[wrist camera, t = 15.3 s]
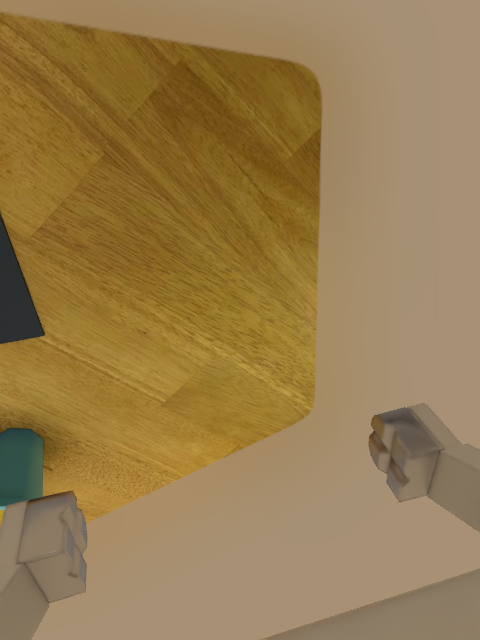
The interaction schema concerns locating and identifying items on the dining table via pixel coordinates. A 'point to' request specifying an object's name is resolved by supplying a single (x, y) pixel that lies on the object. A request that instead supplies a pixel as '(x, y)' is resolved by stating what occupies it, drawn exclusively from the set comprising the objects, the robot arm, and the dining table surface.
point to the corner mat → (15, 297)
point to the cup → (20, 467)
